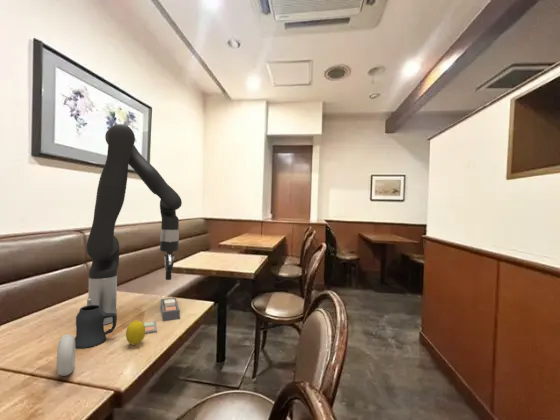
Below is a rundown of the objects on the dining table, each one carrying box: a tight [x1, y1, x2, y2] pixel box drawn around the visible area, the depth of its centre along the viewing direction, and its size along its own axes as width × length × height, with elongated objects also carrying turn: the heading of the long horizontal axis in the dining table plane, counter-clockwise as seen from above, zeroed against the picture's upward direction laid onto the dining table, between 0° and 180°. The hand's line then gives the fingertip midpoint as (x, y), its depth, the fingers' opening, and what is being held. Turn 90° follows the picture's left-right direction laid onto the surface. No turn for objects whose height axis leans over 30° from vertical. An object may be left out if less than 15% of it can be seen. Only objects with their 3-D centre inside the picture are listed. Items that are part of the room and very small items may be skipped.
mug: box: [74, 305, 118, 350], centre depth 93 cm, size 12×9×11 cm
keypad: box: [160, 297, 181, 322], centre depth 119 cm, size 6×17×4 cm, turn 25°
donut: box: [56, 333, 76, 377], centre depth 75 cm, size 10×3×10 cm, turn 32°
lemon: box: [125, 319, 146, 346], centre depth 91 cm, size 6×6×8 cm
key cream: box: [164, 299, 175, 307], centre depth 119 cm, size 4×4×2 cm
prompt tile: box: [142, 320, 158, 335], centre depth 103 cm, size 5×9×1 cm, turn 25°
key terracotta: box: [165, 306, 177, 311], centre depth 114 cm, size 4×4×2 cm
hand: (168, 279), depth 124 cm, fingers closed
